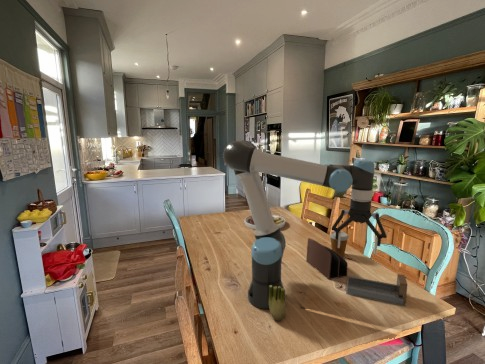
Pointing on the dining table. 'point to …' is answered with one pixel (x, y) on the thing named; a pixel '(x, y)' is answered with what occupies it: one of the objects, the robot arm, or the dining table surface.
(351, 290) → the channel
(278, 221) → the bowl
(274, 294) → the fennel bulb
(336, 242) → the disposable coffee cup
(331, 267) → the letter holder
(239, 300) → the dining table surface
